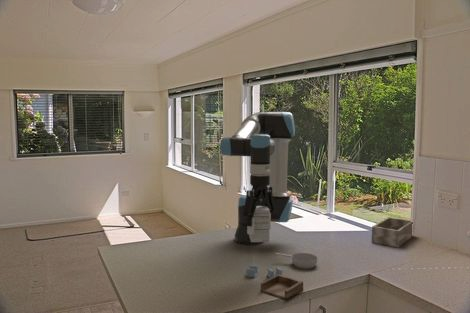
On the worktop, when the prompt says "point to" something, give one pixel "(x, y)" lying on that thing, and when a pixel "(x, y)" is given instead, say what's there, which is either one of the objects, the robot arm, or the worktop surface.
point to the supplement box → (261, 224)
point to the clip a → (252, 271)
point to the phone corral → (392, 232)
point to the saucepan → (302, 260)
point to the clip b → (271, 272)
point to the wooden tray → (282, 286)
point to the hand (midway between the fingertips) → (259, 231)
